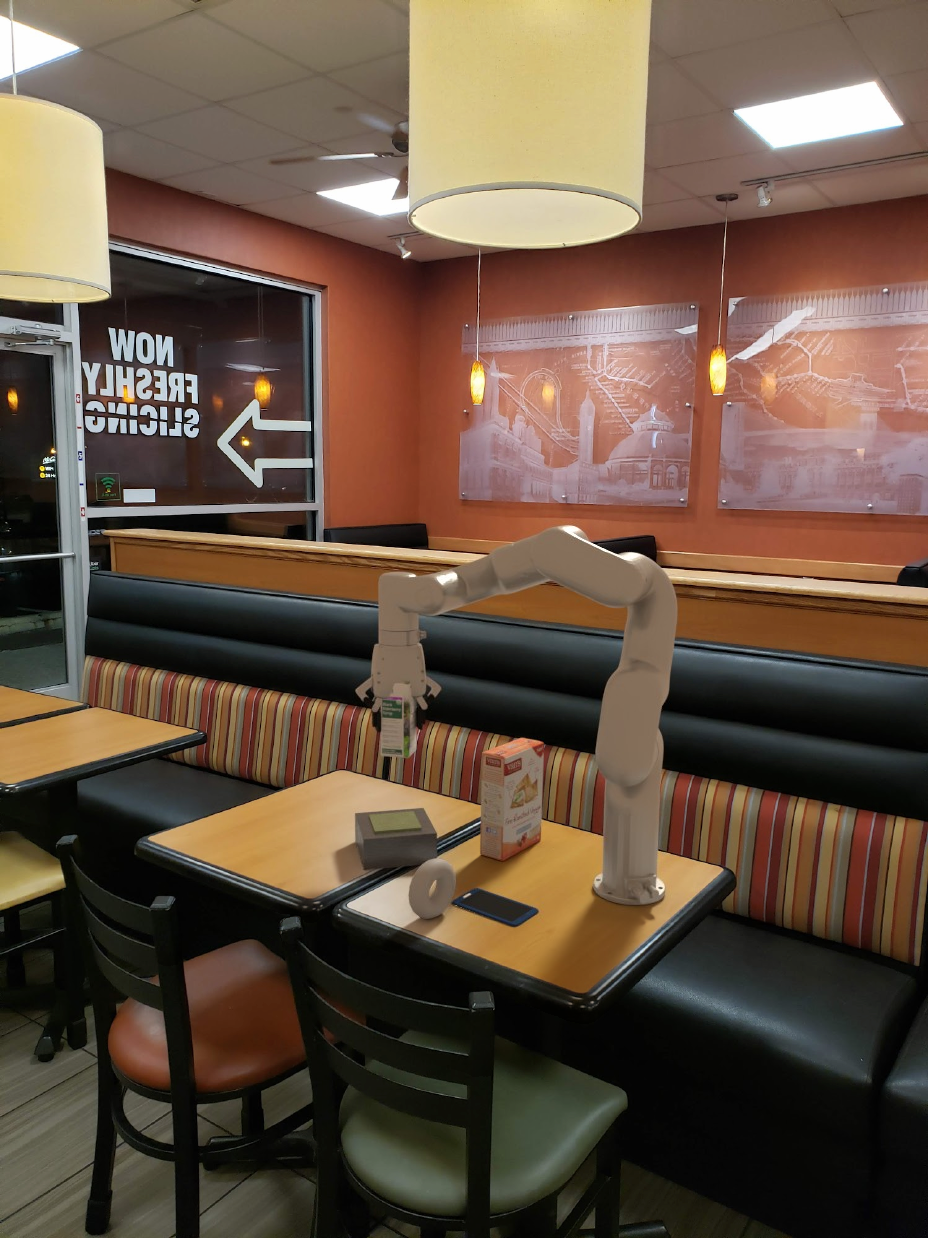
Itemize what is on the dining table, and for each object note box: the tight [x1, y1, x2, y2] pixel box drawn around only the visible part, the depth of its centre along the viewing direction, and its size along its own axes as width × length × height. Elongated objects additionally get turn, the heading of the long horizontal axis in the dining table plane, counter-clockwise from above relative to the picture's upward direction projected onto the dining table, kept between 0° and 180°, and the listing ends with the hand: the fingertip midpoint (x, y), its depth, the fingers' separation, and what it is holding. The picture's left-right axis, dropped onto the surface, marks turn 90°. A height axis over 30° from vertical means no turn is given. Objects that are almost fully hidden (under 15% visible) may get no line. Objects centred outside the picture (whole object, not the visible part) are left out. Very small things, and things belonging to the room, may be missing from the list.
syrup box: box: [380, 682, 418, 759], centre depth 173 cm, size 6×6×14 cm
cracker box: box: [479, 737, 545, 862], centre depth 178 cm, size 14×6×21 cm, turn 143°
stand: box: [354, 807, 438, 871], centre depth 177 cm, size 14×14×6 cm
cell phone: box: [450, 887, 539, 928], centre depth 155 cm, size 7×14×1 cm, turn 52°
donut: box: [408, 857, 457, 920], centre depth 150 cm, size 10×4×10 cm, turn 139°
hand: (398, 728), depth 173 cm, fingers closed on syrup box, 7 cm apart
